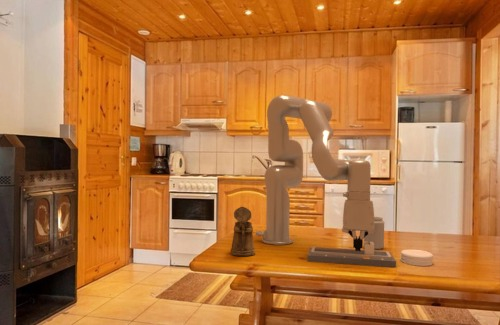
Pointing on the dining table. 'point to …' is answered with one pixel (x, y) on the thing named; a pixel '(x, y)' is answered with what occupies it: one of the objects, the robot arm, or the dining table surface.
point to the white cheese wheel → (417, 257)
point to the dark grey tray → (350, 257)
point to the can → (377, 234)
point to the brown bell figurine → (242, 234)
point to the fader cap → (368, 248)
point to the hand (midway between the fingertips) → (357, 250)
